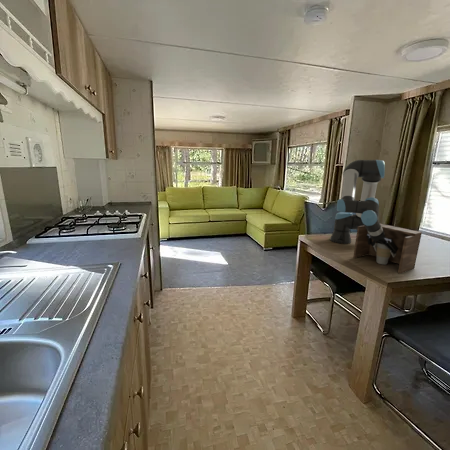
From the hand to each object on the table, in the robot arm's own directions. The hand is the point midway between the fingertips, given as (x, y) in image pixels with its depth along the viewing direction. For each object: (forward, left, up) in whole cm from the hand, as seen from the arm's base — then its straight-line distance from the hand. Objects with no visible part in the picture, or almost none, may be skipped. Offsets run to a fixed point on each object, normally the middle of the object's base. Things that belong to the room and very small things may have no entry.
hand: (386, 253), depth 158 cm
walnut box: (+1, -3, -6) cm, 7 cm away
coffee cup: (+1, -3, -6) cm, 7 cm away
